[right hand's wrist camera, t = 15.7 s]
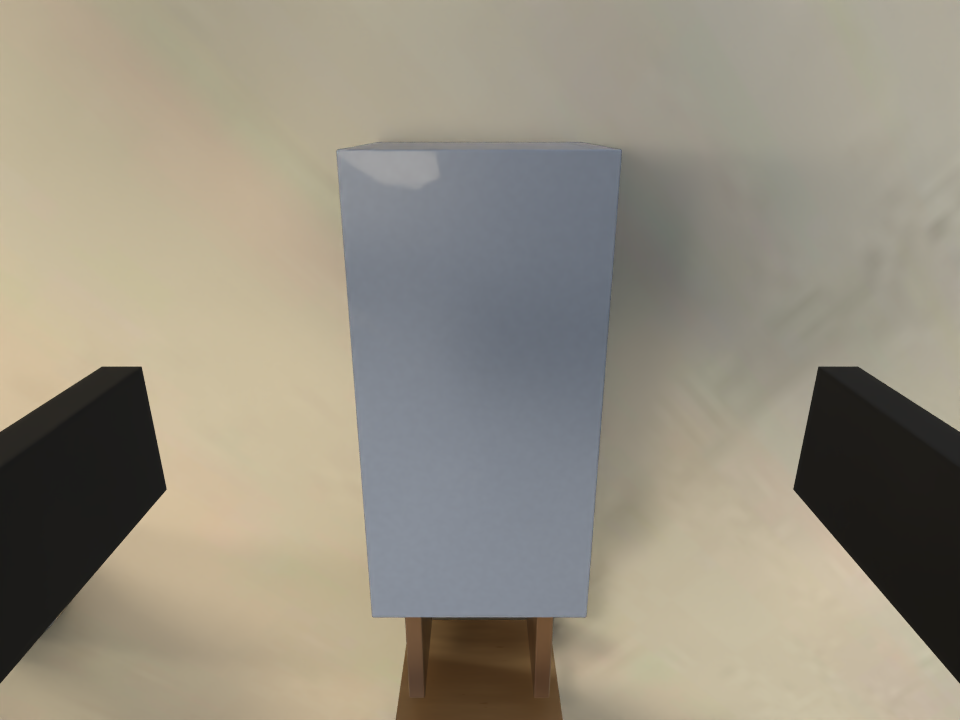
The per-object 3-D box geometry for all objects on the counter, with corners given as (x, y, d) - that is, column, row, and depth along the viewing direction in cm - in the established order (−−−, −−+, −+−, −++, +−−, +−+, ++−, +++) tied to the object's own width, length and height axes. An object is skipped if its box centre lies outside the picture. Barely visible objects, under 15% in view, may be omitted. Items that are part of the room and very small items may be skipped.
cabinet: (562, 506, 37) (586, 617, 29) (396, 506, 37) (371, 617, 29) (582, 142, 30) (622, 149, 22) (376, 142, 30) (335, 149, 22)
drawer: (545, 697, 41) (557, 807, 35) (413, 697, 41) (400, 807, 35) (562, 345, 33) (583, 402, 26) (396, 345, 33) (374, 402, 26)
